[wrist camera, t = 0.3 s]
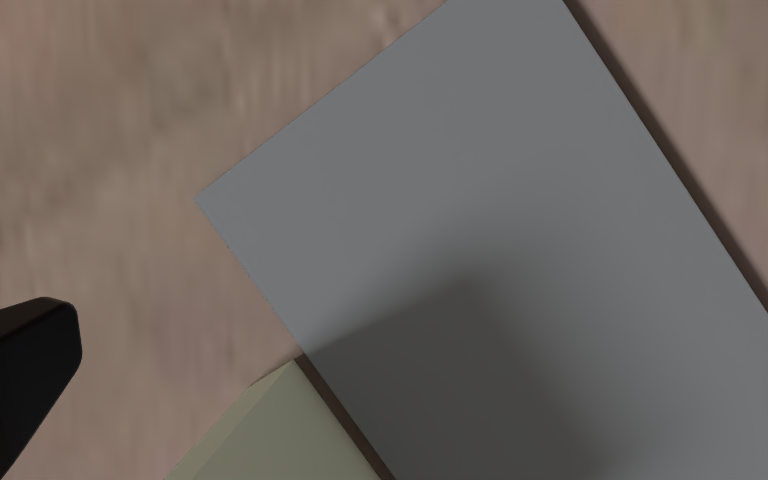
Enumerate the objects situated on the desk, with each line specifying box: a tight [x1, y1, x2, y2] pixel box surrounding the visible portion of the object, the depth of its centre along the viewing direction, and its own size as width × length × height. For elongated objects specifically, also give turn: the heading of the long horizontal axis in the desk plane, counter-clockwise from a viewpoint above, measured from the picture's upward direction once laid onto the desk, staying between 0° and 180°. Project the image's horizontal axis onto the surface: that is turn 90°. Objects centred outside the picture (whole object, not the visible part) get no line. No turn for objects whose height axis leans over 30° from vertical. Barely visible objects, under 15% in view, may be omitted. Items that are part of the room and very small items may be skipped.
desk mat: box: [193, 0, 768, 480], centre depth 24 cm, size 14×24×1 cm, turn 36°
